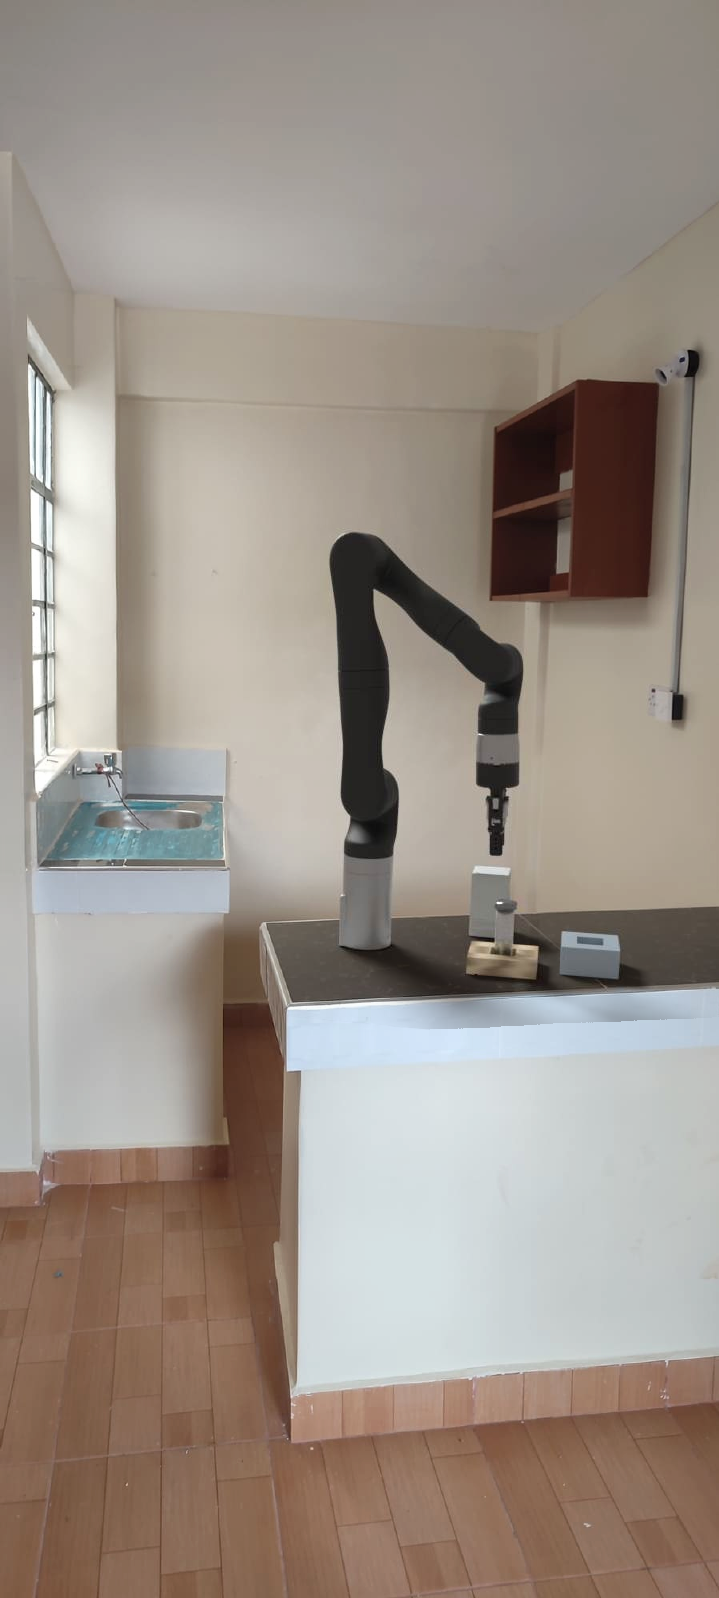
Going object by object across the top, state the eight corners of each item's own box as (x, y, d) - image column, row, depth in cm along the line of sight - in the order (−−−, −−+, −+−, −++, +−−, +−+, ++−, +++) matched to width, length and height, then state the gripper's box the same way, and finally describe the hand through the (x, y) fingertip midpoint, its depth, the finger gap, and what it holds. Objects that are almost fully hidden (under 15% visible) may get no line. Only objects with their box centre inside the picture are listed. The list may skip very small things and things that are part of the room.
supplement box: (506, 939, 219) (509, 875, 216) (467, 936, 220) (470, 872, 218) (508, 929, 226) (512, 867, 224) (471, 926, 227) (474, 864, 225)
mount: (466, 973, 197) (466, 957, 196) (471, 956, 207) (471, 941, 206) (535, 979, 195) (536, 962, 194) (537, 962, 205) (538, 946, 204)
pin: (490, 970, 199) (493, 904, 197) (491, 963, 203) (495, 898, 201) (513, 972, 198) (516, 905, 196) (514, 965, 202) (517, 900, 200)
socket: (559, 974, 198) (561, 946, 197) (560, 957, 208) (561, 931, 207) (618, 979, 196) (620, 951, 195) (616, 962, 206) (617, 935, 205)
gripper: (478, 754, 205) (478, 842, 207) (473, 763, 191) (473, 858, 193) (520, 754, 204) (519, 843, 206) (518, 764, 190) (517, 859, 192)
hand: (497, 850), depth 200 cm, fingers open, 8 cm apart
